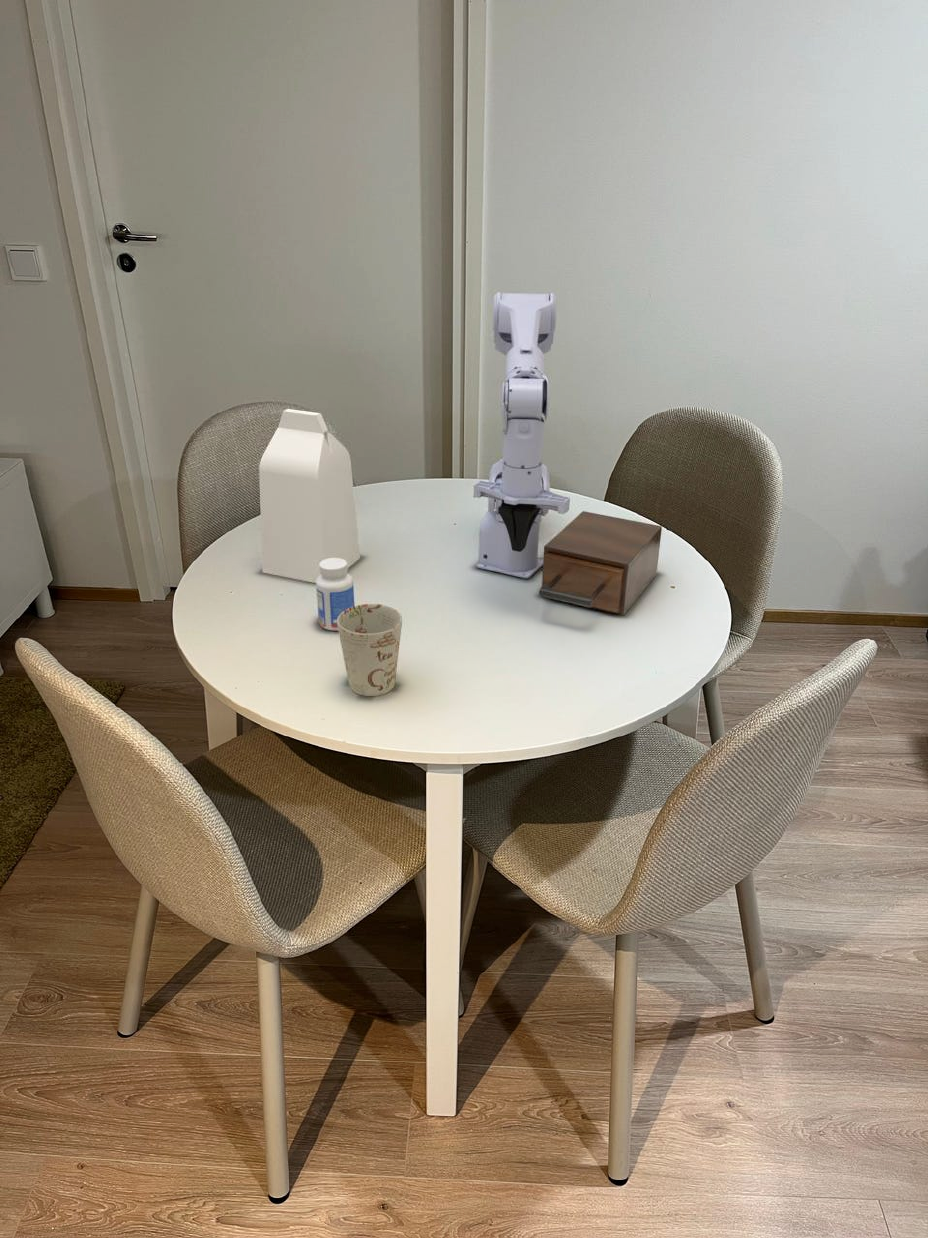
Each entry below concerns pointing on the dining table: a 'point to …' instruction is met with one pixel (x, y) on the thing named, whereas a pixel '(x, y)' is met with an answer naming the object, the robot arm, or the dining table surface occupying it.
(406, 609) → the dining table surface
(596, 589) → the drawer
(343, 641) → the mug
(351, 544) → the milk
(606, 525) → the cabinet
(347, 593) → the pill bottle
